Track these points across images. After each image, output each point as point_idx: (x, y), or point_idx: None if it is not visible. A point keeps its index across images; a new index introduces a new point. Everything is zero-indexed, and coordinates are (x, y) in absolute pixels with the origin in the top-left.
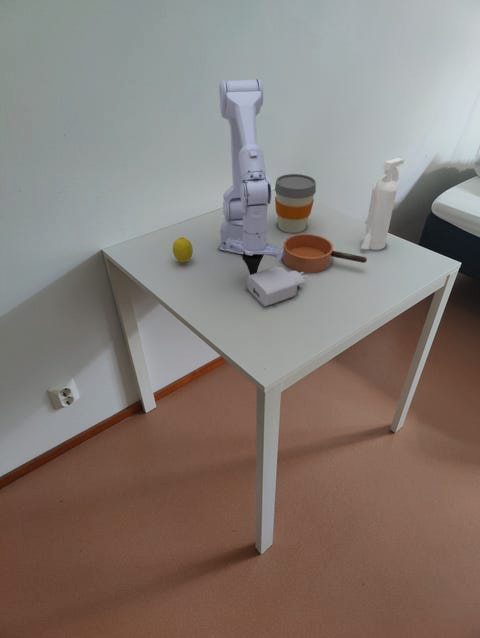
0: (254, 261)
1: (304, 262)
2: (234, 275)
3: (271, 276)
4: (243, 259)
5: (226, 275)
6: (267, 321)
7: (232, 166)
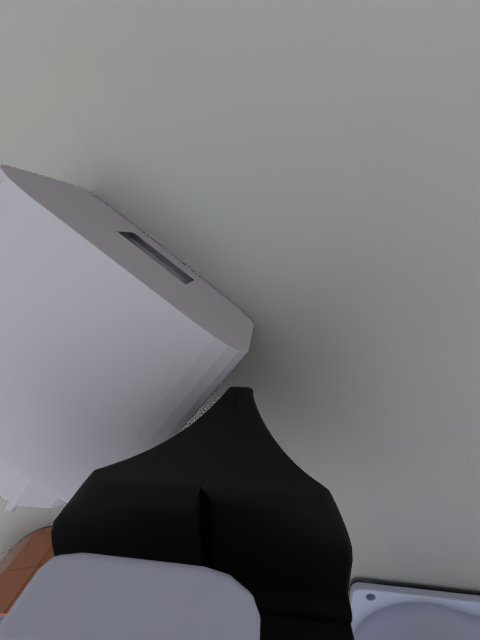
0: (148, 473)
1: (27, 581)
2: (371, 415)
3: (65, 389)
4: (311, 482)
5: (418, 402)
6: (24, 64)
7: None
